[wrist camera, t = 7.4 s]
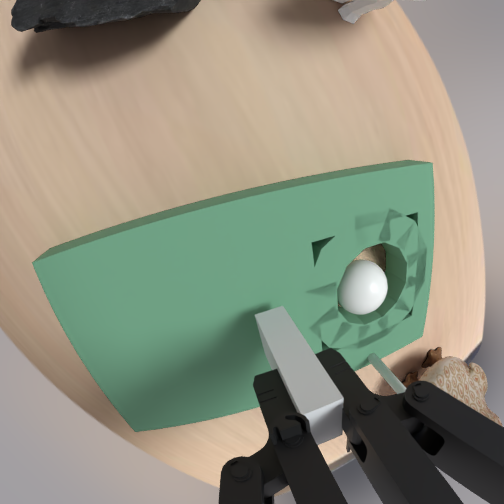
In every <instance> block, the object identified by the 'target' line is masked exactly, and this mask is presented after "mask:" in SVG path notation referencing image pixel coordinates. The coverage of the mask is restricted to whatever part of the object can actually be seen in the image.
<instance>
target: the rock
mask: <svg viewBox="0 0 504 504" xmlns="http://www.w3.org/2000/svg"><path fill="white" fill-rule="evenodd" d="M200 1H201V0H17V1H16V3H15V5H14V6H13V8H12V10H11V15H12V16H13V18H12V21H11V25H12V27H13V28H15V29H16V30H17V31H21V32H22V31H26V30H29V29H32V28H34V31H35V32H36V33H38V32H43V31H46V30H51V29H59V28H64V27H76V26H77V27H87V26H93V25H98V24H104V23H108V22H115V21H123V20H130V19H132V18H136V17H143V16H145V15H148V14H151V13H179V12H187V11H189V10H190V9H193V8H195V7H196V6H197V5H198V3H199V2H200Z"/></svg>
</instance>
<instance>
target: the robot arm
mask: <svg viewBox="0 0 504 504" xmlns="http://www.w3.org/2000/svg"><path fill="white" fill-rule="evenodd" d="M255 318H256V322H257V326H258V329H259V333H260V337H261V341H262V345H263V348H264V352H265V355H266V357H267V360H268V362H269V364H270V366H271V369H272V370H271V371H268V372H265V373H262V374H259V375H256V376H255V377H254V382H253V387H254V390H255V393H256V396H257V399H258V402H259V405H260V408H261V411H262V414H263V416H264V419H265V422H266V425H267V428H268V431H269V439H268V441H267V443H266V445H265V446H264V447H263V448H262V449H261V450H259V451H258V452H256V453H255V454H253V455H252V456H250V457H242V456H241V457H236V458H233V459H231V460H229V461H228V462H227V463H226V464H225V465H224V466H223V468H222V471H221V479H220V492H219V504H274V494H275V493H277V492H279V491H280V490H282V489H283V488H285V487H286V486H288V485H289V486H290V489H291V491H292V494H293V496H294V498H295V501H296V503H297V504H348V503H347V502H346V500H345V498H344V496H343V494H342V492H341V490H340V488H339V486H338V484H337V483H336V481H335V479H334V477H333V475H332V473H331V471H330V469H329V467H328V465H327V463H326V461H325V459H324V457H323V455H322V453H321V451H320V449H319V448H318V446H317V445H319V444H322V443H324V442H326V441H329V440H331V439H333V438H336V437H338V436H340V435H342V431H343V430H344V432H345V434H346V435H347V447H346V449H347V452H350V449H351V450H352V452H353V454H354V456H355V457H356V459H357V460H358V462H359V464H360V466H361V467H362V469H363V471H364V472H365V474H366V476H367V477H368V479H369V481H370V483H371V484H372V486H373V488H374V489H375V491H376V493H377V494H378V496H379V497H380V499H381V501H382V503H383V504H463V503H462V501H461V500H460V498H459V497H458V496H457V494H456V493H455V492H454V490H453V489H452V488H451V486H450V485H449V484H448V482H447V481H446V480H445V478H444V477H443V476H442V475H441V473H440V472H439V471H438V470H437V468H436V467H438V468H439V469H440V470H442V471H443V472H444V473H446V474H447V475H449V476H450V477H452V478H453V479H454V480H456V481H457V482H459V483H460V484H462V485H463V486H464V487H466V488H467V489H469V490H470V491H472V492H473V493H475V494H476V495H478V496H479V497H481V498H482V499H484V500H486V501H487V502H489V503H490V504H504V427H502V426H501V425H499V424H497V423H496V422H494V421H492V420H491V419H489V418H487V417H486V416H484V415H482V414H481V413H479V412H477V411H476V410H474V409H472V408H471V407H469V406H467V405H466V404H464V403H463V402H461V401H459V400H458V399H456V398H454V397H453V396H451V395H450V394H448V393H446V392H445V391H443V390H441V389H440V388H438V387H437V386H435V385H433V384H432V383H430V382H427V381H420V380H419V381H416V382H413V383H411V384H410V385H408V387H407V388H406V390H405V392H403V393H399V394H395V395H390V396H379V395H377V394H374V393H372V392H371V391H369V390H368V388H367V387H366V386H365V385H364V383H363V382H362V381H361V379H360V378H359V377H358V375H357V374H356V373H355V372H354V370H353V369H352V368H351V366H350V365H349V364H348V362H346V360H345V359H344V357H343V356H342V355H341V353H339V352H338V351H336V350H334V349H332V348H329V349H326V350H324V351H321V352H319V353H316V354H314V352H313V351H312V349H311V348H310V346H309V345H308V343H307V342H306V340H305V339H304V337H303V336H302V334H301V333H300V331H299V329H298V328H297V326H296V325H295V323H294V322H293V320H292V319H291V317H290V316H289V314H288V313H287V311H286V310H285V308H284V307H283V306H280V307H277V308H274V309H271V310H268V311H265V312H262V313H258V314H255ZM435 466H436V467H435Z"/></svg>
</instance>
